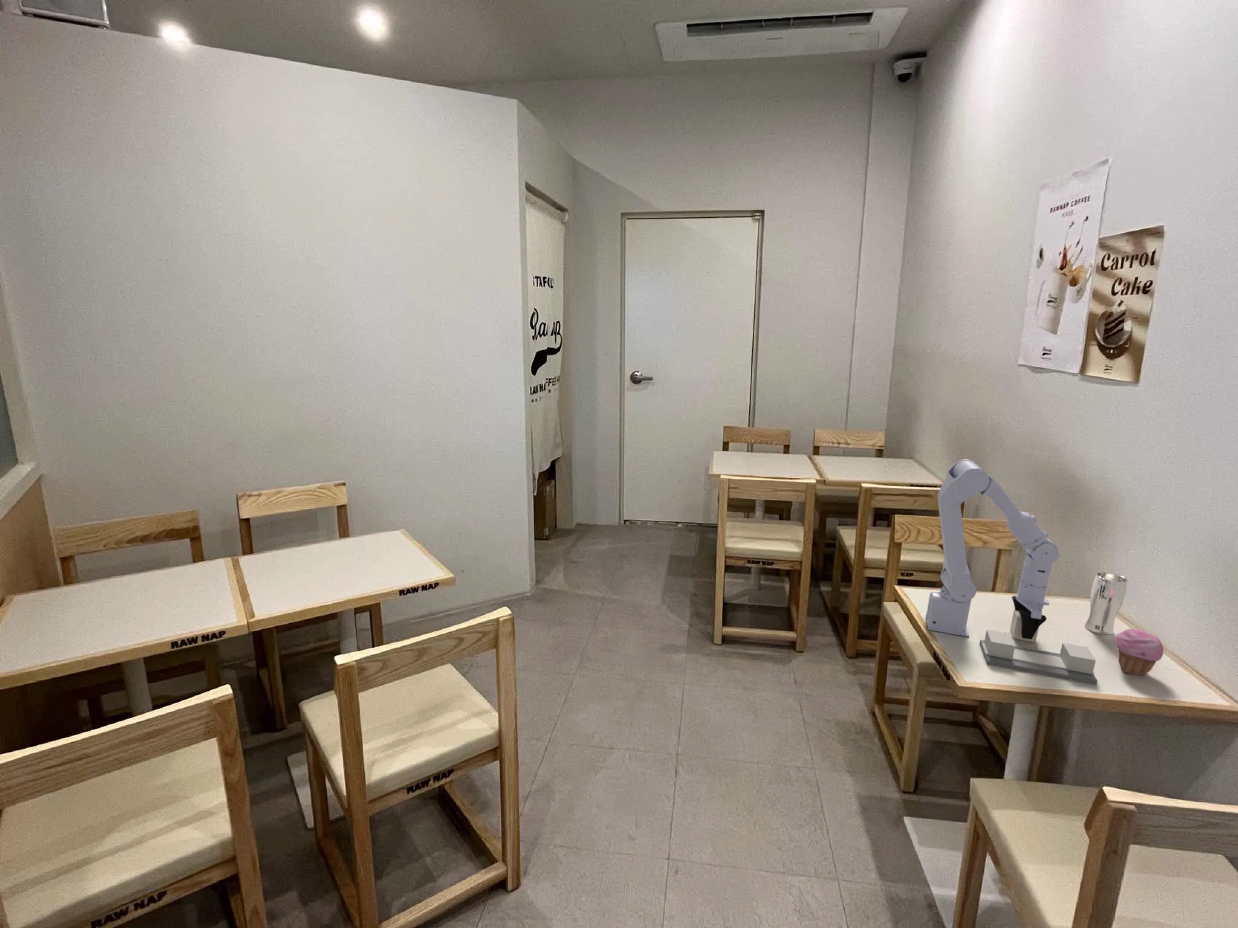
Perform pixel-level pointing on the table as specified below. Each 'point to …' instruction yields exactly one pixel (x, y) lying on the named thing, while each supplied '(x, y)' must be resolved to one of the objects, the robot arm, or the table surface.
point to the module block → (1019, 628)
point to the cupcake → (1138, 651)
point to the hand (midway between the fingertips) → (1023, 631)
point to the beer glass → (1105, 602)
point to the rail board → (1039, 658)
